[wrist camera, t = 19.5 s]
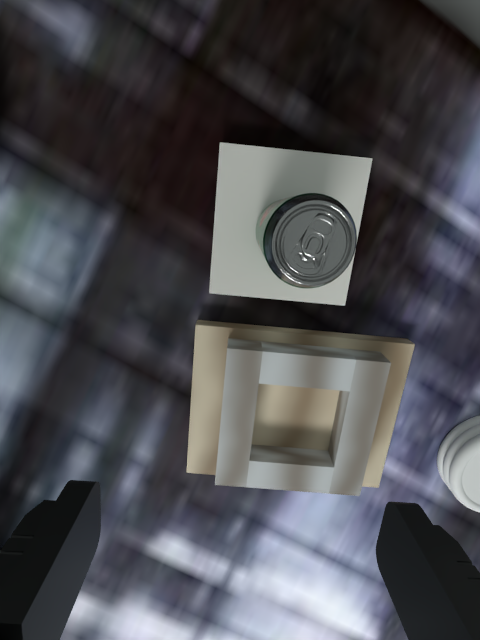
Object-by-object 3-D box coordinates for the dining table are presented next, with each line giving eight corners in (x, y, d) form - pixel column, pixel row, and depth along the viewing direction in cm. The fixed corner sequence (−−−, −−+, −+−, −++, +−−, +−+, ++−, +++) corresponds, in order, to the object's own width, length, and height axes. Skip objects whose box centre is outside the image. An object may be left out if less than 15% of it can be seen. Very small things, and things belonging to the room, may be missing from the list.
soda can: (245, 248, 30) (248, 271, 19) (270, 188, 29) (289, 174, 17) (300, 270, 31) (335, 307, 19) (326, 213, 29) (381, 216, 18)
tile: (210, 289, 33) (209, 293, 31) (220, 145, 29) (219, 142, 28) (340, 301, 33) (345, 305, 32) (366, 160, 30) (372, 158, 28)
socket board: (188, 462, 38) (182, 490, 34) (197, 319, 34) (192, 333, 30) (373, 477, 39) (387, 506, 35) (407, 338, 34) (428, 355, 30)
